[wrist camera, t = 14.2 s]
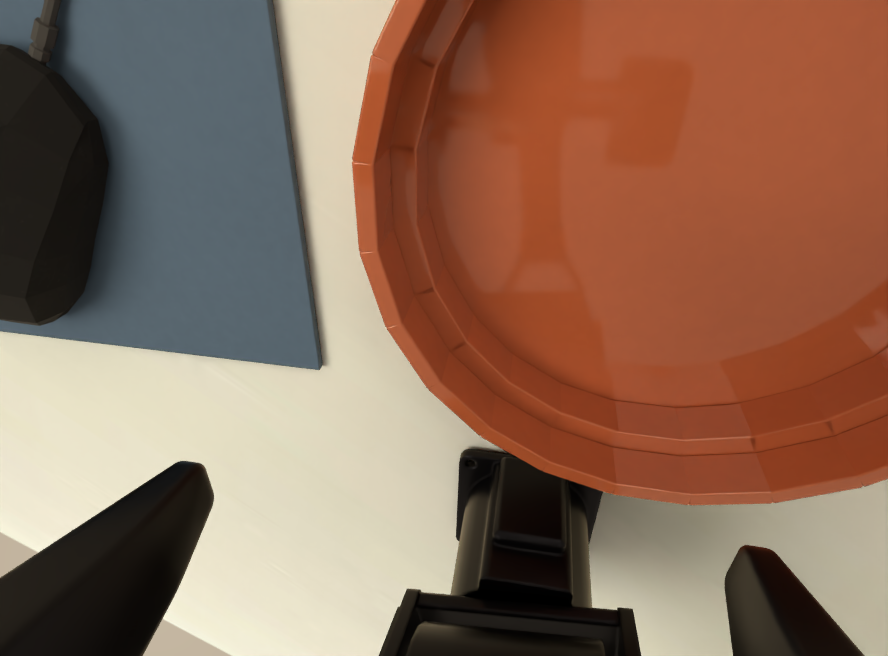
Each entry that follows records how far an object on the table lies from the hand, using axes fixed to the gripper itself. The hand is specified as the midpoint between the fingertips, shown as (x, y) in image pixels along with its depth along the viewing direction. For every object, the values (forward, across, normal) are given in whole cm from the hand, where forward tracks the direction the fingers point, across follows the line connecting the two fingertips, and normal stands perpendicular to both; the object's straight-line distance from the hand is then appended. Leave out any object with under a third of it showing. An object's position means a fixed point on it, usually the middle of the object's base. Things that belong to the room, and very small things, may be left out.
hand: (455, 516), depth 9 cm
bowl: (+12, -6, -2) cm, 14 cm away
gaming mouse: (+12, +18, -1) cm, 21 cm away
